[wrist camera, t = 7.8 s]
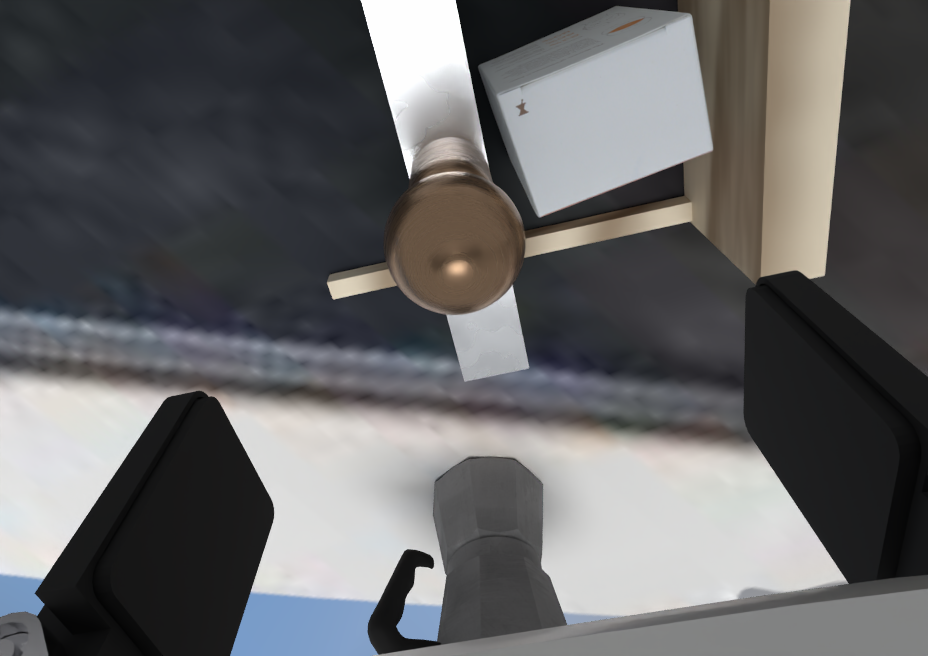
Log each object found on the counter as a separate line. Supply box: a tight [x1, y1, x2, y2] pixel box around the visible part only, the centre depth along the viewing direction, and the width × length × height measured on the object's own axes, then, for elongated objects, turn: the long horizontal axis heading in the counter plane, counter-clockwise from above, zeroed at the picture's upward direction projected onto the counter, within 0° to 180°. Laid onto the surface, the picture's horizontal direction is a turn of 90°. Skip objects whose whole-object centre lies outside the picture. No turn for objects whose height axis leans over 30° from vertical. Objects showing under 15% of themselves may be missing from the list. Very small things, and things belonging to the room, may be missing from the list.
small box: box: [478, 6, 713, 218], centre depth 29 cm, size 8×6×10 cm
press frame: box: [327, 0, 850, 299], centre depth 29 cm, size 26×19×10 cm
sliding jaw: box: [361, 0, 529, 381], centre depth 24 cm, size 4×19×20 cm, turn 13°
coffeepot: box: [368, 457, 567, 655], centre depth 41 cm, size 15×9×18 cm, turn 64°
